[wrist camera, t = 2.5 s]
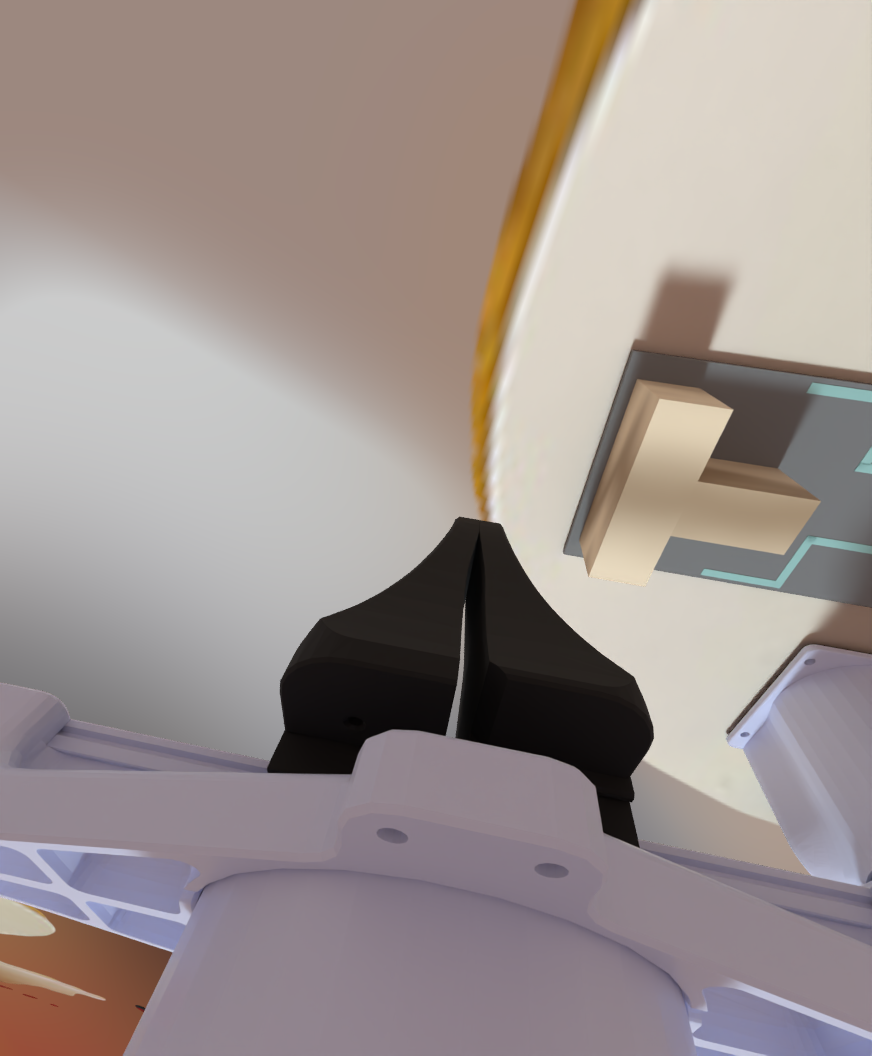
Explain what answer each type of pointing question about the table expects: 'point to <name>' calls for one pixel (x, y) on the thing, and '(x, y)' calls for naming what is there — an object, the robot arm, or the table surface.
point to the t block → (682, 488)
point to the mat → (779, 442)
